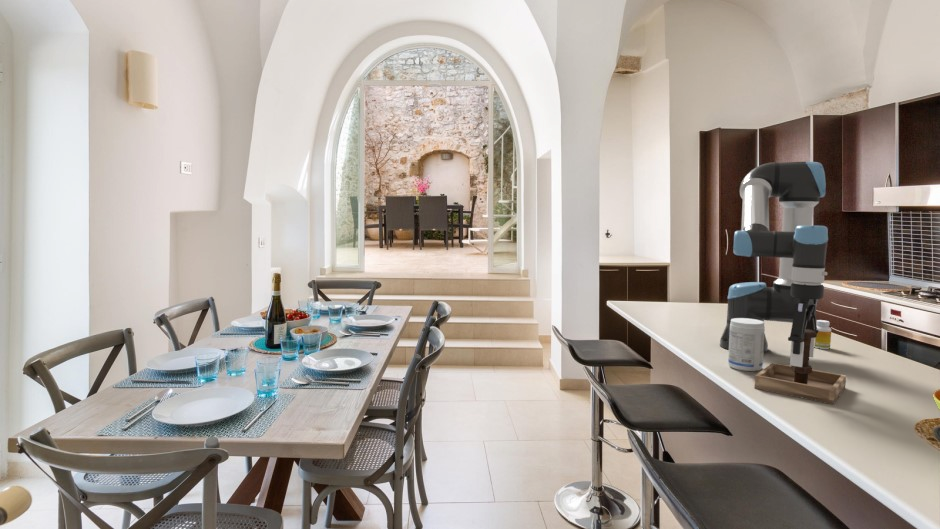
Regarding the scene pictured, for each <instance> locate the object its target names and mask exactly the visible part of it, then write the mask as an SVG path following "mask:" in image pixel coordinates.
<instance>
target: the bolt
mask: <svg viewBox="0 0 940 529" xmlns="http://www.w3.org/2000/svg"><path fill="white" fill-rule="evenodd" d="M816 337H817V333H816V332H815V331H813V330H809V329H806V330H805V334H804V339H803V342H804V351H803V365H802V367H798V366H792V365H790V366H791V369H792V371H793V372H795V375H794V378H795V379H794V382H797V383H802V384H807V383H808V374H810V373H812V370H813V367H812V365H810V357H809V355H810V352H809V351H810V343H811V338H816Z"/></svg>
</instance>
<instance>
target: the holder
mask: <svg viewBox="0 0 940 529" xmlns="http://www.w3.org/2000/svg"><path fill="white" fill-rule="evenodd" d="M794 375H795V372H793V371H792V369H791V365H787V364H782V363H776V362H771V363H770V364H769V365H767V366H766V367H765V368H764V369H763V368H762V369H761V370H760V371H759V372H758V373H757V374H755V375H754V387H753V388H754V389H756V388H757V389H756V390H761V389H762V391H767V392H770V391H771V393H775V392H777V394H780V393H782V394H781V395H785V394H786V396H790V395H792V396H791V397H795V396H798V397H797V398H799V397H803V398H802V399H804V398H807V399H806V400H809V399H812V400H811V401H814V400H816V401H815V402H819V401H821V402H820V403H824V402H826V403H825V404H828V403H831V404H830V405H834V404H835V403H836V401H837V400H838V399H839V398H840V396H841V395H842V393H843V392H844V391H845V389H846V383H847V375H845V374H839V373H833V372H827V371H823V370H822V371H821V370H817V369H812V373H810V374H808V383H807V384H802V383H797V382H794V379H795V378H794ZM842 391H843V392H842ZM840 394H841V395H840ZM839 395H840V396H839ZM837 398H838V399H837ZM834 402H835V403H834Z"/></svg>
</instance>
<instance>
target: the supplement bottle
mask: <svg viewBox="0 0 940 529" xmlns="http://www.w3.org/2000/svg"><path fill="white" fill-rule="evenodd" d="M816 320H817V329H816V330H818V334H817V337H816V338H815V339H814V347H815V348H814V349H818V348H820V349H819V350H830V349H831V341H832V328H831V327H830V324H831V323H830V321H829V320H823V319H816ZM829 348H830V349H829Z"/></svg>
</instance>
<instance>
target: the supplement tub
mask: <svg viewBox="0 0 940 529" xmlns="http://www.w3.org/2000/svg"><path fill="white" fill-rule="evenodd" d="M764 333H765V321H764V322H763V321H760V320H756V319H749V318H734V319H731V323H730V334H729V349H728V356H727V357H728V359H727V360H728V362H727V364H728V366H729V367H730V368H732V369H734V370H738V371H744V372H757V371H762V370H763V365H764V352H763V349H764Z"/></svg>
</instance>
